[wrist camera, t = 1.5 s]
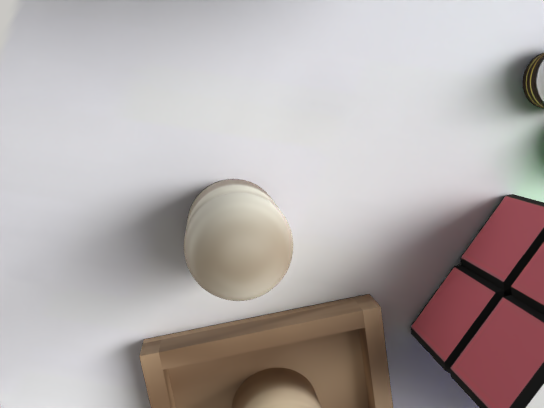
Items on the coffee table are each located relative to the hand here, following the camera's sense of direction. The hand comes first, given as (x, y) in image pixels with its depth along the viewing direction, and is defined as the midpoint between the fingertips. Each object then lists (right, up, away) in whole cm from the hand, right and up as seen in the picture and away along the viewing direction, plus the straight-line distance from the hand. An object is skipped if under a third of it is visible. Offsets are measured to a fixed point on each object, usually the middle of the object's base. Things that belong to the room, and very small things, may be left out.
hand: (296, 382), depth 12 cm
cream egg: (-3, +3, +16) cm, 17 cm away
